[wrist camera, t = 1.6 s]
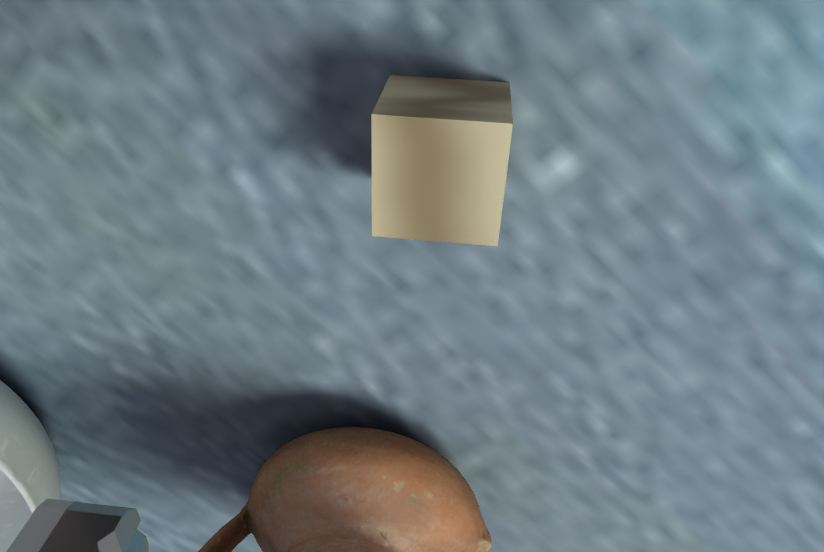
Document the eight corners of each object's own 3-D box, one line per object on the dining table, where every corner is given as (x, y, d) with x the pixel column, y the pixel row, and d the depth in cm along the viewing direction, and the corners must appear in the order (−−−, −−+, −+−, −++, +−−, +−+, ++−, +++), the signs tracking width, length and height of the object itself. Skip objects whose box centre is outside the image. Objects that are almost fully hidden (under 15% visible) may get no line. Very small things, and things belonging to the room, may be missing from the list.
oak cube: (509, 81, 26) (512, 123, 22) (496, 190, 29) (497, 246, 25) (390, 74, 26) (371, 114, 22) (388, 182, 29) (371, 235, 25)
